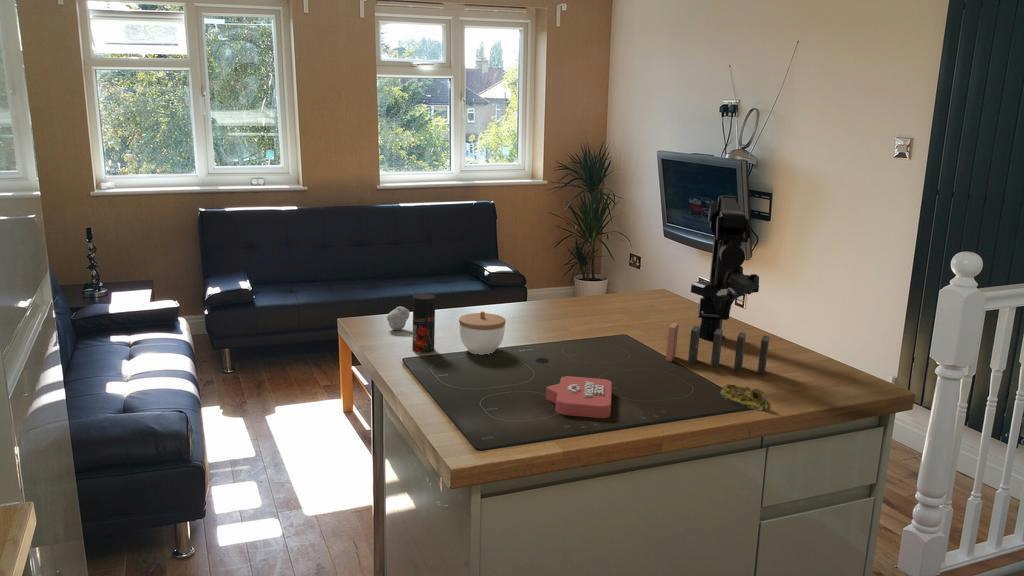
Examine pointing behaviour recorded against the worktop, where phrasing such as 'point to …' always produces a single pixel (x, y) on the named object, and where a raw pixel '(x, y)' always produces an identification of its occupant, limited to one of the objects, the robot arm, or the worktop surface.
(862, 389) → the worktop surface
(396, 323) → the grey lumpy stone
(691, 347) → the domino
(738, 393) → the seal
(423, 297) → the deodorant
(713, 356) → the domino
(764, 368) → the domino
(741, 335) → the domino
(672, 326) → the domino
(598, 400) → the plaque
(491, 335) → the lidded bowl
